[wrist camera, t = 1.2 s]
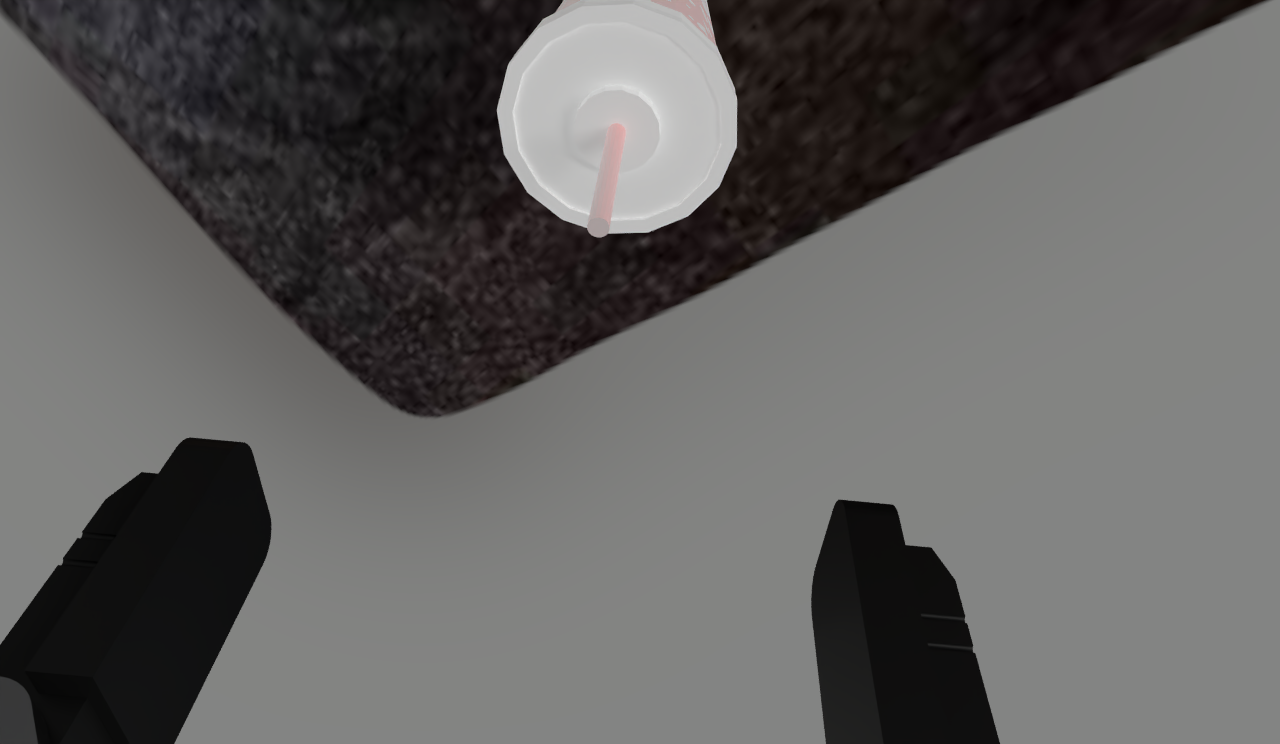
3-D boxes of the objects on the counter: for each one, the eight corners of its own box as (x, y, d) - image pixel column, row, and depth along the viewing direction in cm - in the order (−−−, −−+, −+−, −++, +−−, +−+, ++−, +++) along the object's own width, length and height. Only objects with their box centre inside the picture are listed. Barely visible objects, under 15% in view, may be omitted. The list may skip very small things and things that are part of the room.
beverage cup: (748, -68, 28) (776, 109, 17) (712, 118, 31) (715, 362, 21) (553, -99, 27) (451, 59, 16) (541, 93, 31) (452, 324, 20)
